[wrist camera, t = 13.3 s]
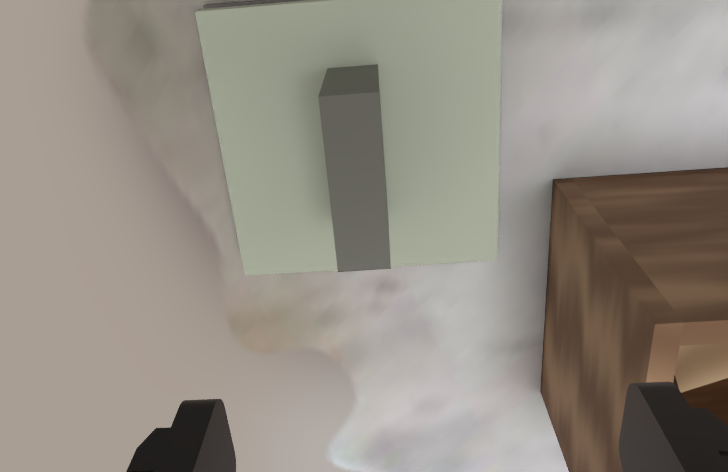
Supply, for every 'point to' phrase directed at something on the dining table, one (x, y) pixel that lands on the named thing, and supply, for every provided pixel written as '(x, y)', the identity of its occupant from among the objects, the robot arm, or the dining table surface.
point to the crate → (630, 299)
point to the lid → (358, 130)
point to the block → (700, 365)
